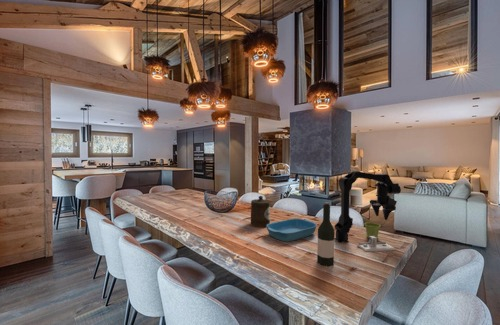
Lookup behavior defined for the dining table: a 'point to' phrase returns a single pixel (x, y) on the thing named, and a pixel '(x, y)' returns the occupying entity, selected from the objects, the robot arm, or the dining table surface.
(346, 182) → the robot arm
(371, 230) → the plant pot
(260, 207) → the wooden container
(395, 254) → the dining table surface
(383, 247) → the plate
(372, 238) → the slider
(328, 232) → the wine bottle
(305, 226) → the casserole dish
